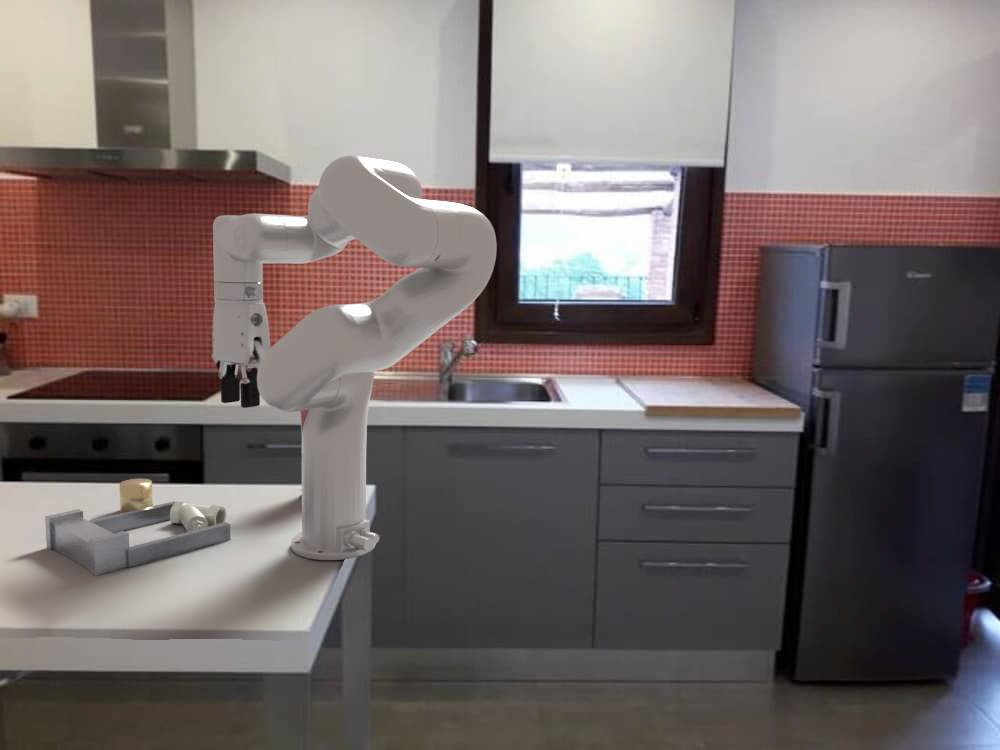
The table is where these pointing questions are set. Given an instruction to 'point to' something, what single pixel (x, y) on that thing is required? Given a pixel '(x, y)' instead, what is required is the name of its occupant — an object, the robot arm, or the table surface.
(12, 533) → the table surface
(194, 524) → the pipe fitting
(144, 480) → the cylinder
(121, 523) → the pipe jig
